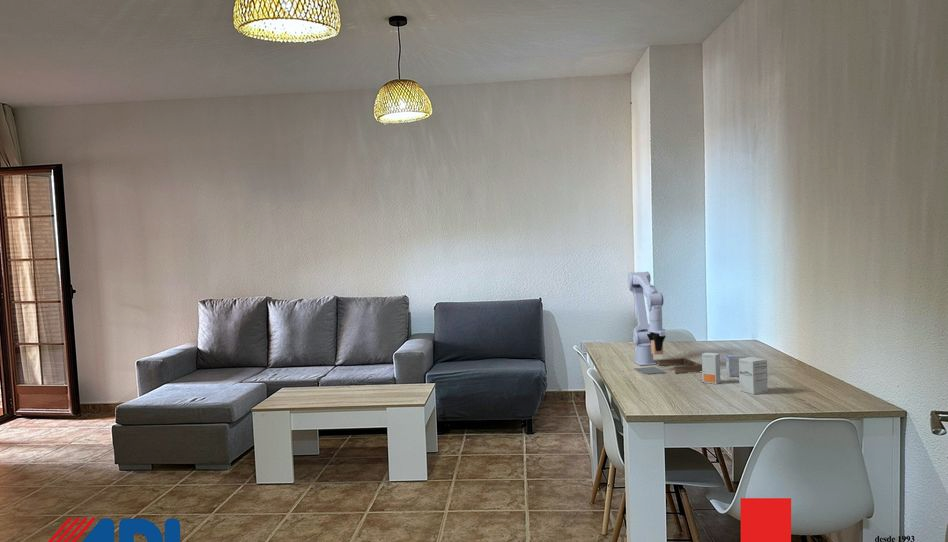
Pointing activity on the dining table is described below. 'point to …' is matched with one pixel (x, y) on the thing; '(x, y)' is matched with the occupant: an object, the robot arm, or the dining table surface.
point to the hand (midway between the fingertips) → (656, 350)
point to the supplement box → (753, 375)
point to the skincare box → (711, 368)
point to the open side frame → (689, 367)
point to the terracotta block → (653, 349)
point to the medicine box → (733, 364)
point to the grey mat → (649, 370)
